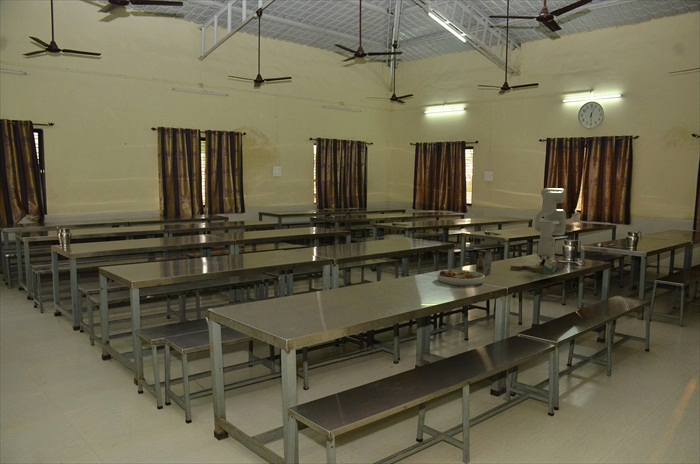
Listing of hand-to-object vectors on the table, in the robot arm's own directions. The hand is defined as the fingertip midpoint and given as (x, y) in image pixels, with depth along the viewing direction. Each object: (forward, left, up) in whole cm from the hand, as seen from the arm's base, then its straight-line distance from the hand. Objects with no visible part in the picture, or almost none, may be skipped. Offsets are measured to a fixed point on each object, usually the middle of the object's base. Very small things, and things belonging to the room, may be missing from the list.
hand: (544, 265), depth 383 cm
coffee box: (+33, -35, -5) cm, 48 cm away
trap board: (0, -7, -4) cm, 8 cm away
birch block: (+2, +3, -1) cm, 4 cm away
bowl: (+71, -39, -5) cm, 81 cm away
